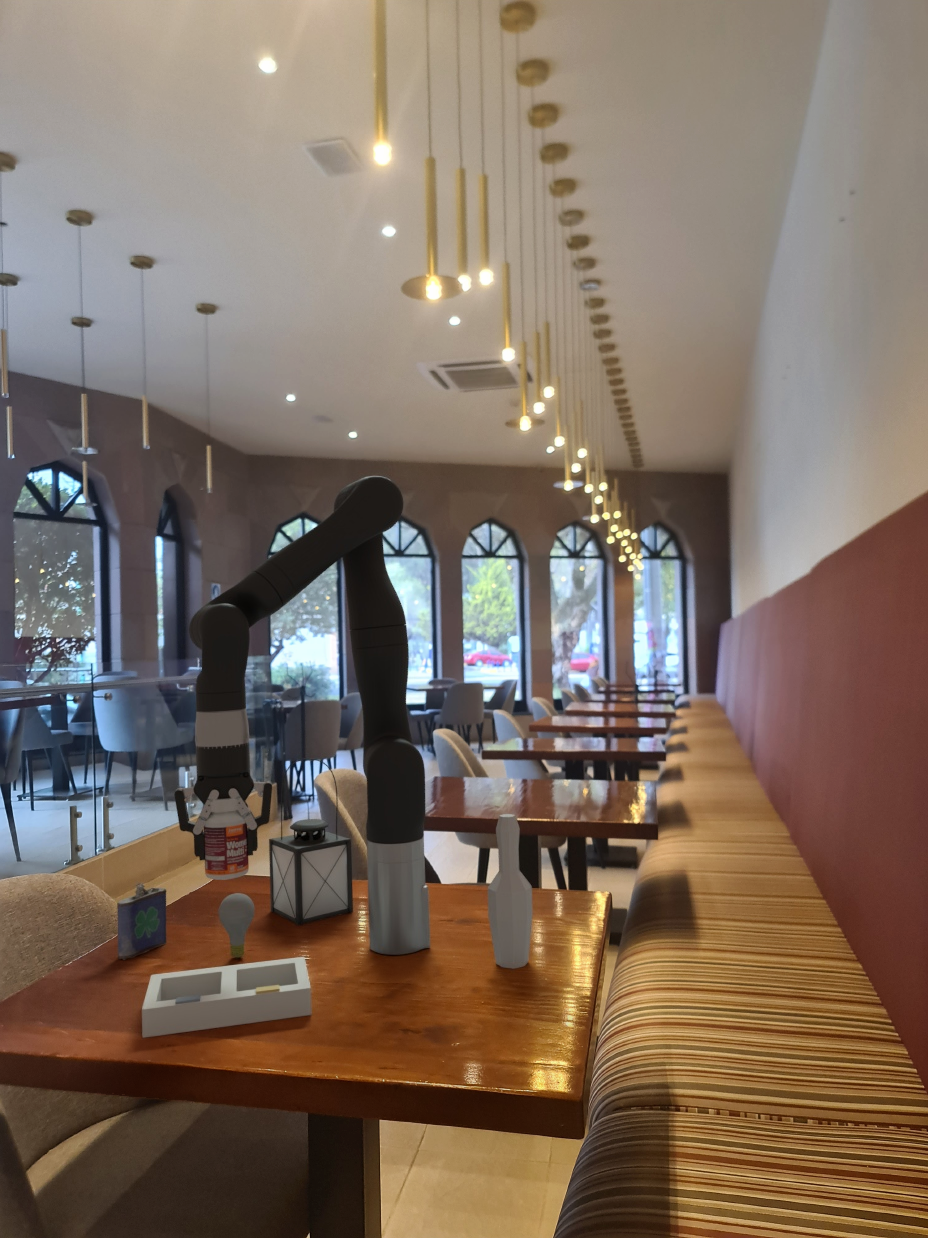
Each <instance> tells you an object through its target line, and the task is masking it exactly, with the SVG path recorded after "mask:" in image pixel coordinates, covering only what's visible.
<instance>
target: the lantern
mask: <svg viewBox="0 0 928 1238" xmlns="http://www.w3.org/2000/svg"><path fill="white" fill-rule="evenodd" d="M305 760H314V761H317V762H320V763H322V764H323V765H324V766H325V767H327V768H328V770H329V771H330V772H331V775H332V778H333V780H334V787H335V793H336V795H335V796H336V798H335V799H336V800H335V801H336V804H335V805H336V814H335V815H336V816H335V817H336V818H335V833H332V832H329V831H326V828H328V827H329V826H330V824H329V823H328V822H326V821H325V820H323V819H320V818H319V819H318V818H307V819H301V820H296V821H295V822H293V823H292V824H291V825H289V829H290V830H292V831H293V834H291V835H287V836H283V787H284V781H285V778H286V774H287V772H288V771H289V769H290V768H291V767H292V766H293V765H294V764H296V763H298V762H300V761H305ZM337 787H338V786H337V781H336V777H335V775H334V773H333V771H332V769H331V768H330V767H329V765H327V764H326V763H325V762H323V761H322V760H320V759H318V758H310V757H307V758H305V757H304V758H301V759H298V760H296V761H294V762H292V763H291V764H290V765H289V766H288V768H286V769H285V772H284V775H283V778H282V782H281V792H280V830H281V831H280V833H281V834H280V835H281V836H280V837H274V838H269V839H268V853H269V855H268V857H269V858H268V859H269V884H270V885H269V891H270V895H269V896H270V912H271V913H274V914H275V915H278V916H280V917H281V918H283V919H286V920H288V921H289V922H291V923H294V924H295V926H302V925H305V924H309V923H313V922H319V921H321V920H326V919H329V918H333V917H338V916H342V915H345V914H351V913H354V902H353V900H354V899H353V897H354V896H353V892H354V891H353V865H352V864H353V863H352V861H353V860H352V859H353V858H352V857H353V856H352V855H353V854H352V838H348V837H344V836H342V835H338V807H339V806H338V805H339V804H338V803H339V801H338V788H337Z"/></svg>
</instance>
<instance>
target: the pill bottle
mask: <svg viewBox="0 0 928 1238" xmlns="http://www.w3.org/2000/svg"><path fill="white" fill-rule="evenodd" d="M239 804H240V802H239ZM209 806H210V805H209ZM247 828H248V825H247V824H246V822H245V819H244V818H243V817H242V816H241V814H240V812H239V811H238V806H237V799H234V798H232V799H231V798H224V799H217V800H213V801H211V813H210V815H209V817H208V819H207V821H206V822H205V825H204V827H203V832H204V852H205V860H204V875H205V877H206V878H207V879H211V880H218V881H222V880H223V881H225V880H232V879H237V878H240V877H243V876H245V875H247V874H248V873H249V867H250V866H249V862H250V861H249V856H248V836H247Z"/></svg>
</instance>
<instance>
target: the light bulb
mask: <svg viewBox="0 0 928 1238" xmlns="http://www.w3.org/2000/svg"><path fill="white" fill-rule="evenodd" d="M254 917H255V904H254V902H253V900H252V899H251V898H250V897H249V895H247V894H244V893H240V892H236V893H232V894H228V895H227V896H225V898H223V900H222V901H221V902H220V904H219V907H218V919H219V922H220V923H221V926H222V927H223V928H224V929H225V931H226V933H227V934H228V936H229V945H230V956H231V957H232V958H234V959H240V958H241V957H243V956H244V955H245V942H246V938H245V937H246V934H247V931H248V928H249V927H250V925H251V923H252V921H253V919H254Z"/></svg>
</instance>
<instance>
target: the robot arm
mask: <svg viewBox="0 0 928 1238" xmlns="http://www.w3.org/2000/svg"><path fill="white" fill-rule="evenodd" d="M334 499H335V500H334V504H333V512H332V513H331V514H330V515H328V517H327V518H325V519H324V520H323V521H321V522H320V523H319V524H318V525H316V526H314V527H313V528H312V529H311V530H309V531H308V532H306V533H304V534H302V535H301V536H300V537H298V538H296V539H295V540H293V541H291V542H290V543H289V544H287V545H285V546H283V547H282V548H281V549H279V550H278V551H277V552H275V553H274V554H273V555H271V556H270V557H269V558H267V559H265V560H264V561H263V562H262V563H260V564H258V566H256V567H255V568H254V569H253V570H252V571H250V572H249V573H248V574H247V575H246V576H245V577H244V578H242V579H241V580H240V581H239V582H238V583H236V584H235V585H234V586H232V587H230V588H229V589H227V590H225V591H224V592H222V593H221V594H219V595H217V596H216V597H214V598H213V599H211V600H210V601H209V602H207V603H206V604H204V605H203V606H202V607H201V608H200V609H198V610H197V611H196V612H195V613H194V614H193V616H192V618H191V620H190V621H189V625H188V634H189V637H190V641H191V642H192V643H193V644H194V646H195V647H196V648H198V649H200V650H201V670H200V672H199V673H198V675H197V676H196V681H195V705H196V706H195V708H196V712H195V713H196V715H195V724H194V725H195V727H194V728H195V729H194V732H195V736H194V742H195V758H196V759H195V761H196V762H195V763H196V764H195V765H196V780H195V783H194V785H193V786H188V787H177V788H176V789H175V791H174V794H173V795H174V800H175V801H174V802H175V807H176V812H177V813H176V814H177V820H178V824H179V825H178V826H179V830H180V831H181V832H188V833H191V834H192V835H193V850H194V852H193V853H194V855H195V858H196V857H199V861H205V852H204V825H205V822H206V821H207V819H208V817H209V815H210V813H211V801H213V800H217V799H224V798H231V799H232V798H234V799H237V806H238V811H239V812H240V814H241V816H242V817H243V818H244V819H245V822H246V824H247V836H248V857H251V856H254V852H257V850H258V848H259V846H258V845H259V843H258V830H259V828H260V827H261V826H264V825H267V824H269V822H270V816H271V808H272V807H271V806H272V805H271V804H272V794H273V782H272V781H271V780H266V781H254V780H253V778H252V775H251V760H250V759H251V755H250V732H249V731H250V729H249V728H250V727H249V726H250V725H249V719H248V715H247V713H248V712H247V698H246V697H247V696H246V695H247V694H246V693H247V692H246V683H245V681H246V680H245V678H246V671H247V667H248V659H249V652H250V638H251V637H250V635H251V634H250V628H251V627H253V626H254V625H255V624H257V623H258V622H259V621H261V620H263V619H265V618H268V617H270V616H272V615H274V614H275V613H276V612H279V610H281V609H282V608H283V607H285V606H286V605H287V604H288V603H289V602H291V601H292V600H293V599H294V598H295V597H296V596H298V595H299V594H300V593H301V592H303V591H304V590H305V589H306V588H307V587H309V585H310V584H312V583H313V582H314V581H315V580H316V579H318V578H319V577H320V576H321V575H322V574H323V573H324V572H326V571H327V570H328V569H330V567H331V566H333V565H334V564H335V563H337V562H338V561H339V560H341V559H342V563H343V569H344V577H345V578H344V579H345V590H346V601H347V609H348V622H349V623H348V626H349V635H350V647H351V654H352V661H353V667H354V674H355V677H356V678H355V679H356V684H357V688H358V692H359V697H360V701H361V707H362V708H361V709H362V723H363V727H362V728H363V730H362V731H363V743H362V744H363V746H362V747H363V748H362V749H363V751H362V753H363V755H362V767H363V768H362V770H363V774H364V776H365V779H366V796H367V797H366V800H367V801H366V802H367V803H366V804H367V806H366V807H367V813H366V815H367V817H366V824H365V826H366V827H365V832H366V857H367V858H366V861H367V862H366V866H367V867H366V868H367V869H366V870H367V897H368V899H367V900H368V901H367V903H368V904H367V905H368V937H369V939H368V940H369V949H370V950H372V951H373V952H375V953H376V954H377V953H378V954H382V955H389V956H392V955H396V956H397V955H407V954H412V953H415V952H418V951H420V950H424V949H428V948H431V932H430V931H431V930H430V926H431V925H430V899H429V898H430V895H429V886H428V885H427V884H426V867H425V864H426V863H425V862H426V861H425V839H424V838H425V820H426V811H427V810H426V769H425V762H424V757H423V756H422V754H421V752H420V751H419V749H418V748H417V747H416V746H415V745H414V742H413V738H412V734H411V729H410V723H409V718H408V710H407V690H408V689H407V688H408V680H409V679H408V678H409V663H410V662H409V660H410V653H409V652H410V651H409V640H408V629H407V628H408V627H407V620H406V615H405V611H404V608H403V605H402V603H401V599H400V598H399V596H398V594H397V591H396V589H395V586H394V585H393V583H392V580H391V578H390V576H389V573H388V570H387V566H386V560H385V551H384V539H383V538H384V535H383V533H385V532H387V531H388V530H390V529H392V528H393V527H394V526H395V525H396V524H397V523H398V521H399V520H400V519H401V516H402V514H403V510H404V496H403V493H402V491H401V490H400V488H399V487H398V486H397V484H396V483H395V482H394V481H392V480H391V479H389V478H388V477H386V476H385V477H384V476H381V475H371V476H370V475H369V476H365V477H362V478H360V479H358V480H356V481H354V482H351V483H349V484H348V485H346V486H344V487H343V488H341V490H340V491H338V493H337V495H336V497H335V498H334ZM253 790H256V792H257V796H258V797H260V798H262V801H261V808H260V815H258V816H256V817H255V815H254V813H253V812H252V810H251V808H250V806H249V804H248V802H247V799H248V798H249V796H250V795H251V793H252V792H253ZM193 794H194V795H195V796H196V797H197V798H198V800H199V801H200V802H201V804H203V807H202V809H201V811H200V813H199V815H198V817H197V819H196V822H194V821H190V817H189V810H188V803H190V801H191V799H192V795H193ZM239 802H240V804H239ZM209 805H210V806H209Z"/></svg>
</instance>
